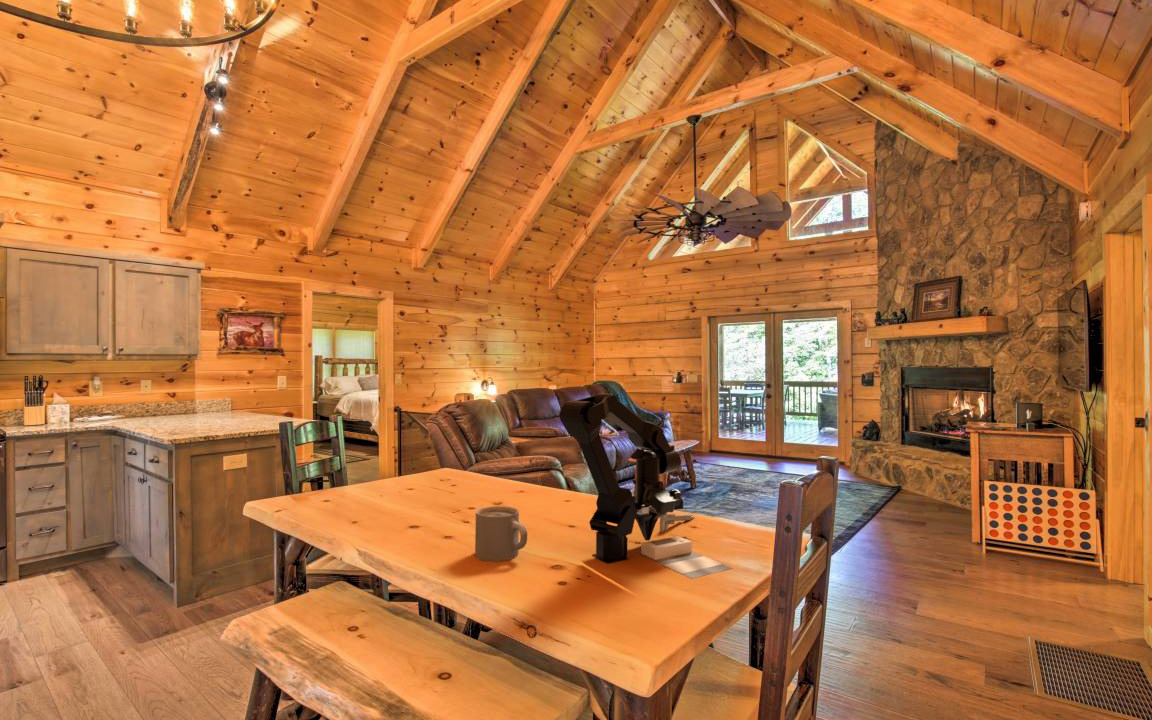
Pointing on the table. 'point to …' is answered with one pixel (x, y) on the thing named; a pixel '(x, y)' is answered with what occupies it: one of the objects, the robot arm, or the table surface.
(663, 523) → the caliper
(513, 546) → the coffee mug
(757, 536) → the table surface
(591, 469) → the robot arm
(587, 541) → the table surface
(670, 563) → the subfloor panel
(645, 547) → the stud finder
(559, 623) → the table surface
